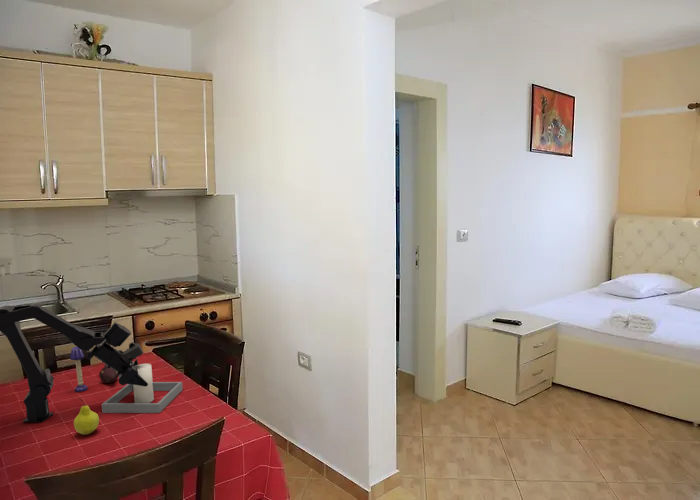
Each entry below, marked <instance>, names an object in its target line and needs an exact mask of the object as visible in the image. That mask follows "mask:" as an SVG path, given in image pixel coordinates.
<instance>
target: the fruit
mask: <svg viewBox="0 0 700 500" xmlns="http://www.w3.org/2000/svg"><path fill="white" fill-rule="evenodd" d="M78 400H79V401H81V402H83V405H82V406H81V408H80V409H79V413H78V414H77V415H76V416H75V418H74V420H73V426H74V427H73V428H74V429H75V431H76V432H77V433H78V434H81V435H82V436H83V435H84V436H88V435H91V434H92V433H93V432H94V431H95V430H96V429H97V428H98V427H99V423H100V416H99V415H98V414H97V412H94V411H92V410H91V409H90V407H89V405H86V404H85V402H84V400H83V399H81V398H80V397H78Z"/></svg>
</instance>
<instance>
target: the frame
mask: <svg viewBox="0 0 700 500" xmlns="http://www.w3.org/2000/svg"><path fill="white" fill-rule="evenodd" d="M183 387H184V386H183V381H153V392H161V391H162V392H167V391H168V392H167V393H166V394H165V395H164V396H163V397H162V398H161V399H160V400H159V401H158V402H156V403H155V402H153V403H152V402H150V403H135V402H120V401H122V399H124V398H125V397H126V396H128V395H129V394H130V393H131V392H134V388H133V385H132V384H125V385H124V386H122V388H121V389H119V390H118V391H117V392H116V393H114V394H112V396H110V397H109V398H107V400H105V401H104V402H103V403H101V412H102V414H104V413H105V414H129V413H130V414H160V413H161V412H162V411H163V410H164V409H165V408H166V407H168V405H169V404H171V402H172V401H173V400H174V399H176V397H177V396H178V395H179V394H180V393H181V392H182V391H183V389H184V388H183Z"/></svg>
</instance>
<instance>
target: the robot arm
mask: <svg viewBox="0 0 700 500" xmlns="http://www.w3.org/2000/svg"><path fill="white" fill-rule="evenodd" d="M29 319H35V320H36V321H38V322H40V323H42V324H44V325H46V326H47V327H49V328H51V329H52V330H54V331H55V332H57V333H60V334H61V335H64V336H65V337H66V338H68V340H69V341H70V342H71V343H72V344H74V346H75V347H78V348H79V349H81V350H82V351H86V355H87V361H91V360H92V359H93V357H94V358H96V359H97V360H99V361H100V362H102V363H103V364H104V365H105V364H106V365H107V367H108V368H110V367H111V368H112V369H113V370H115V371H116V372H117V374H118V375H119V377H118V384H120V385H121V386H122V387H125V386H126V385H127V384H132V385H139V386H145V387H146V386H147V385H148V383H147V382H146V381H145V380H144V379H143V378H142V377H141V376H140V375H139V374H138V368H135V367H134V366H135V365H138V364H139V362H138V361H139V360H138V357H140V356H142V355H144V350H143V348H142V347H141V345H140V343H138V342H136V343H135V342H133V341H131V342H130V343H128V348H126V349H125V350H124V351H123V350H122V349H116V348H117V347H120V346H122V345H123V343H125V341H126V340H127V339H128V338H129V337H130V336H131V335H132V332H131V330H130V329H128V328H127V327H126V326H125V325H122V324H120V323H118V322H117V321H116V322H115V321H114V322H113V323H112V324H111V326H110V327H109V328H108V329H107V331H104V332H103V331H101V332H100V331H94V330H92V329H89V328H87V327H84V326H80V325H77V324H73V323H71V322H69V321H68V320H66V319H65V318H63V317H61V316H59V315H58V314H56V313H54V312H52V311H51V310H48V309H47V308H46V307H44V306H42V304H40V303H32V304H25V305H17V306H12V305H3V306H2V305H1V306H0V333H1V334H3V335H4V336H5V337H6V338H7V340H8V342H9V344H10V346H11V348H12V349H13V352H14V353H15V356H16V358H17V359H18V361H19V363H20V365H21V366H22V368H23V371H24V372H25V374H26V378H27V385H28V389H29V390H28V392H27V394H26V395H25V397H24V399H23V404H24V405H25V410H26V418H25V419H23V420H22V422H23V423H42V422H44V421H45V420H47V419H48V418H50V417H51V416H53V415H54V412H51V411H50V408H49V401H48V396H49V395H50V394H51V391H52V389H53V387H54V379H55V377H54V376H53V375H52V374H51V370H50V368H46V369H44V368H42V367H41V366H40V363H39V362H38V360H37V357H36V355H34V352H33V350H32V348H31V346H30V344H29V343H28V340H27V339H26V337H25V334H24V333H23V332H22V330H21V329H22V327H21V324H20V323H21V321H25V320H29ZM133 360H134V361H133Z"/></svg>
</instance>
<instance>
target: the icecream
mask: <svg viewBox="0 0 700 500" xmlns="http://www.w3.org/2000/svg"><path fill="white" fill-rule="evenodd" d="M98 373H99V374H98V377H99V379H100V381H101V382H104V383H106V384H110V383H114V382H115V381H117V380H118V379H119V375H118V374H117V372H116V371H115V370H113V369H112V368H111V367H110V368H108V367H107V365H106V364H105V363H104V366H103V367H101V369H100V371H99V372H98Z"/></svg>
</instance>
